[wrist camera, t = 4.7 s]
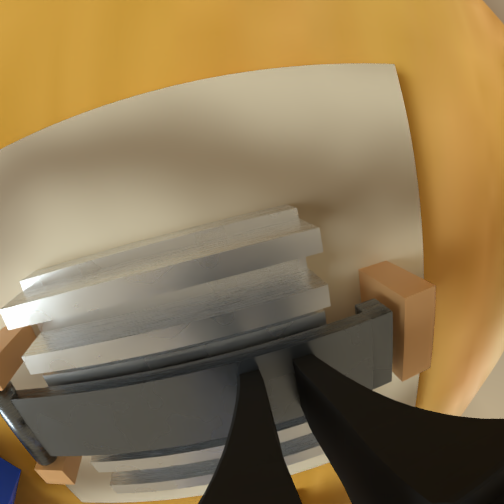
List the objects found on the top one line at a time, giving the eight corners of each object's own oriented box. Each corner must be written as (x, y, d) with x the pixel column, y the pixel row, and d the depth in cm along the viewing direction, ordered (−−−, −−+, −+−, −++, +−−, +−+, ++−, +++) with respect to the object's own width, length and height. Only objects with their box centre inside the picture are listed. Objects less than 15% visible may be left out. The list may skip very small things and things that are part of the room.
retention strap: (376, 370, 11) (395, 391, 10) (42, 442, 10) (33, 465, 8) (373, 290, 10) (397, 306, 9) (-1, 377, 9) (-16, 398, 7)
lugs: (389, 354, 14) (431, 394, 11) (64, 432, 12) (47, 483, 9) (383, 230, 12) (441, 251, 9) (3, 326, 10) (-37, 368, 7)
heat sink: (319, 410, 14) (342, 451, 11) (126, 453, 13) (121, 497, 10) (286, 204, 11) (317, 215, 9) (33, 271, 10) (-5, 299, 7)
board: (403, 414, 17) (412, 425, 16) (85, 489, 15) (82, 502, 14) (379, 70, 12) (394, 64, 11) (-65, 195, 9) (-79, 198, 8)
